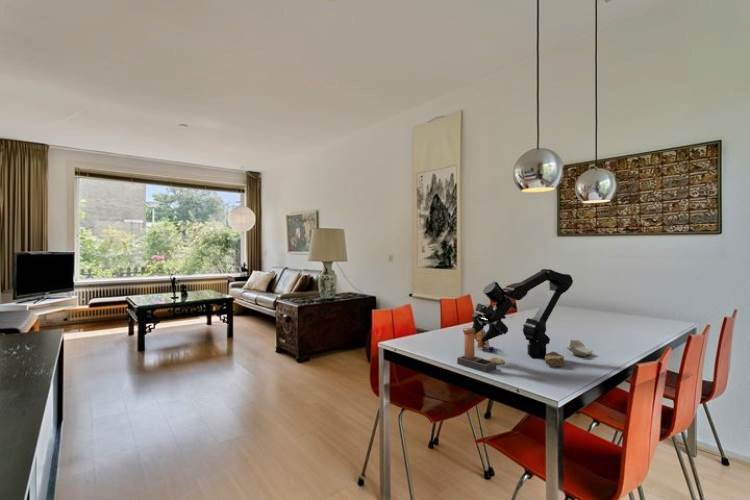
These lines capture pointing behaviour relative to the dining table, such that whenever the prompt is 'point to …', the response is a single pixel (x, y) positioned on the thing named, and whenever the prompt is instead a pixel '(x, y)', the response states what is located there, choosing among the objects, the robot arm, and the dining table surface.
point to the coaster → (496, 360)
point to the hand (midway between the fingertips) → (476, 338)
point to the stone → (554, 359)
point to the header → (477, 364)
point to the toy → (481, 344)
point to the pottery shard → (578, 348)
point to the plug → (469, 343)
